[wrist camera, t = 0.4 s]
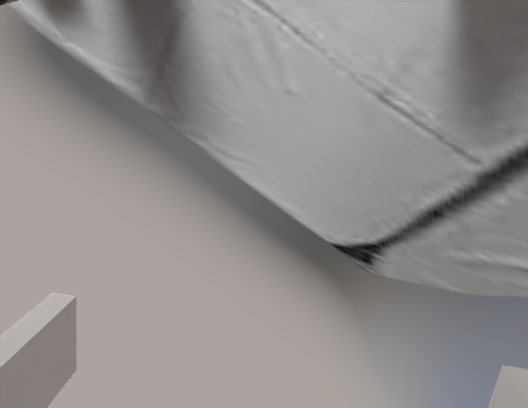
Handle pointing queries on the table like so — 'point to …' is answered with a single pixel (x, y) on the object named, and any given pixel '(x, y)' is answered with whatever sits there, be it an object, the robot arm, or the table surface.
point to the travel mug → (6, 1)
